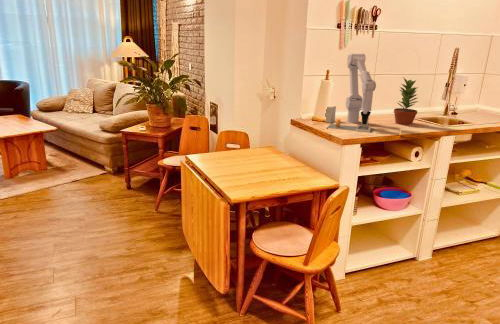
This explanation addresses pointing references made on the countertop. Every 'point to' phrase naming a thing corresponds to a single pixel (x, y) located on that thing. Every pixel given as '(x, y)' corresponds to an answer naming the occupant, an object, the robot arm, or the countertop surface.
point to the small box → (330, 114)
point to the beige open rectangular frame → (363, 127)
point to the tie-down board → (348, 127)
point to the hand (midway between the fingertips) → (364, 123)
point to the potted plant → (406, 105)
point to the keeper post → (337, 122)
